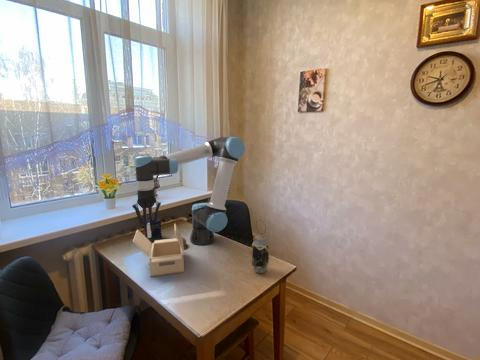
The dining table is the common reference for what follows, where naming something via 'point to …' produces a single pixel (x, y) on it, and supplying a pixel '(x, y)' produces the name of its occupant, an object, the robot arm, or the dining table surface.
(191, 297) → the dining table surface
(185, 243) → the seashell
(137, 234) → the flap
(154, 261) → the carton
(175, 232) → the flap
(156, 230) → the dark blue barrel
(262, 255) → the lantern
